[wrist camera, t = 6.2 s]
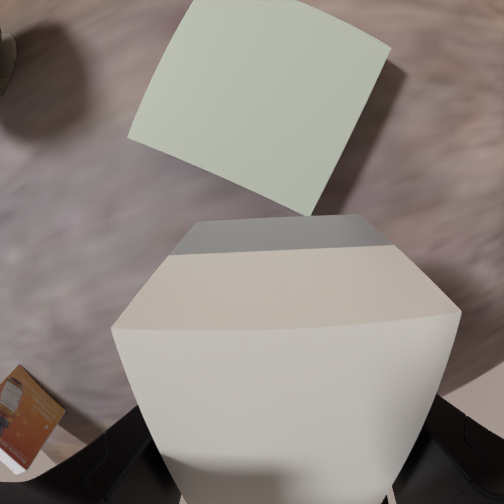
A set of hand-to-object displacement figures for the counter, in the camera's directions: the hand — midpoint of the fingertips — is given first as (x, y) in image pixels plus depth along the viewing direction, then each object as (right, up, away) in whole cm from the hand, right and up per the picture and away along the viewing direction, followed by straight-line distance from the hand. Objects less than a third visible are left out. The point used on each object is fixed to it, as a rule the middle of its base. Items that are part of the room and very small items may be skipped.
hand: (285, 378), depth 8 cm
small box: (-27, -14, +21) cm, 37 cm away
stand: (0, +14, +9) cm, 17 cm away
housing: (0, +1, +2) cm, 2 cm away
